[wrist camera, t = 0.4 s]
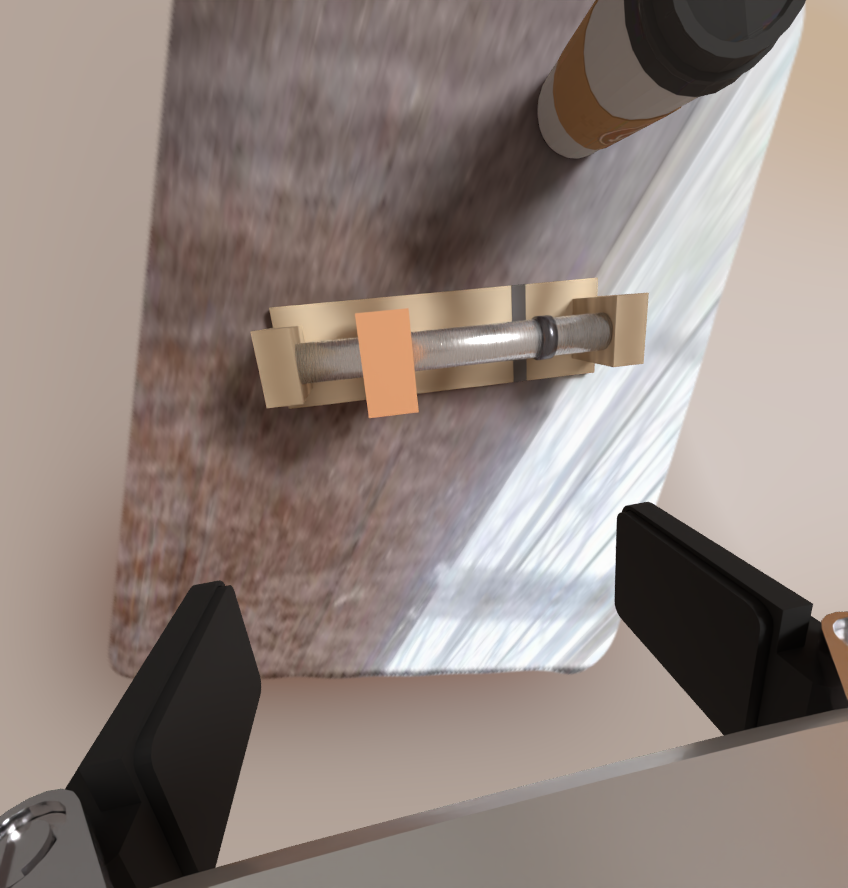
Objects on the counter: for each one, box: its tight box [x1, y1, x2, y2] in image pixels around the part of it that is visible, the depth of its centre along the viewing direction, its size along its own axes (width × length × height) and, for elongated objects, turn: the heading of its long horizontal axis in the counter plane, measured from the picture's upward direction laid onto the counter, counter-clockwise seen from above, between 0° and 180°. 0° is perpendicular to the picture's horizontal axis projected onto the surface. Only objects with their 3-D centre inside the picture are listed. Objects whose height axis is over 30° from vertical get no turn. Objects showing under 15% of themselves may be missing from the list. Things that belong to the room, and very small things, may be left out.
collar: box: [355, 308, 419, 418], centre depth 28 cm, size 3×6×9 cm, turn 5°
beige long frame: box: [251, 278, 649, 409], centre depth 32 cm, size 27×8×7 cm, turn 95°
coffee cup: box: [538, 0, 806, 159], centre depth 25 cm, size 8×8×15 cm
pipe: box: [295, 312, 613, 384], centre depth 30 cm, size 25×3×3 cm, turn 95°
